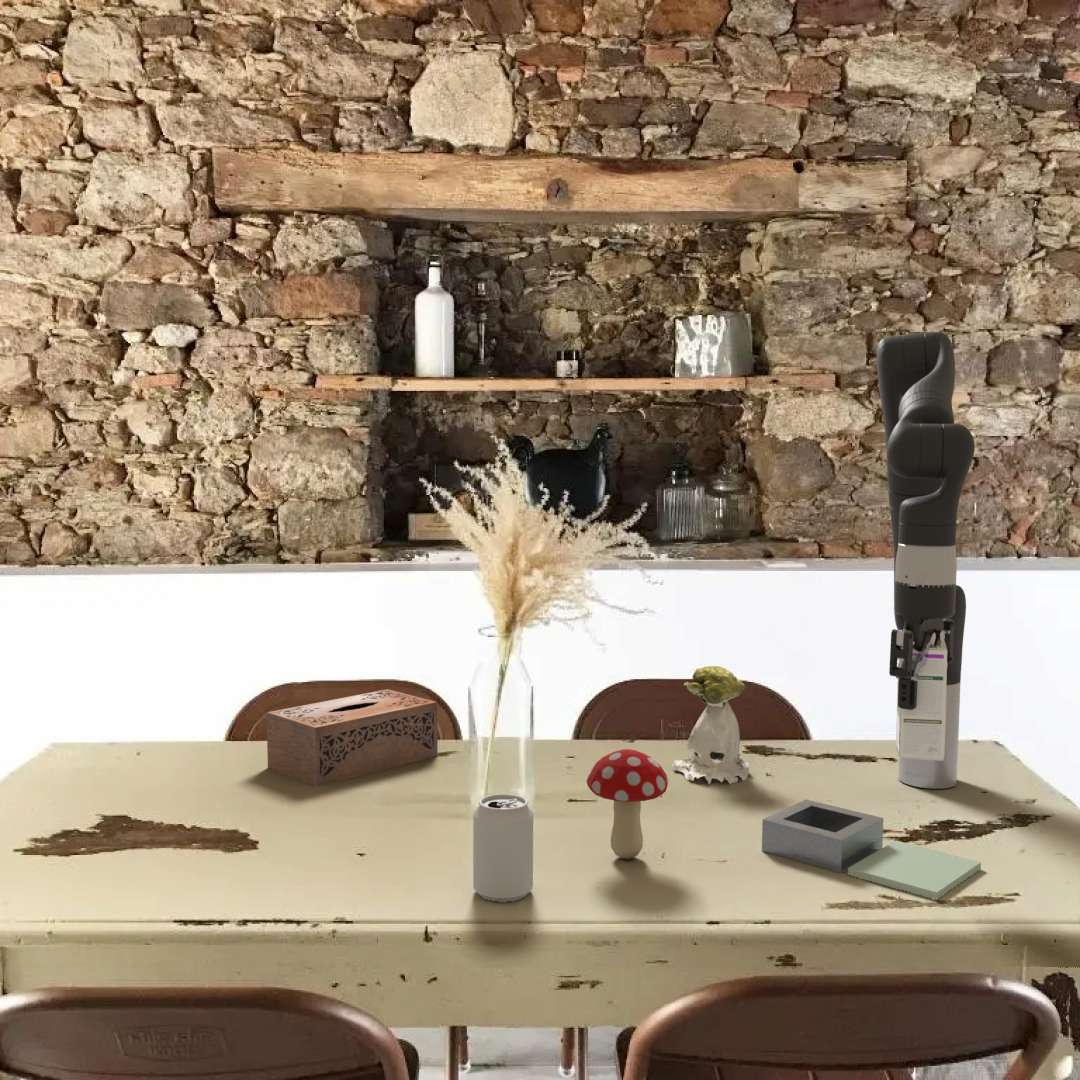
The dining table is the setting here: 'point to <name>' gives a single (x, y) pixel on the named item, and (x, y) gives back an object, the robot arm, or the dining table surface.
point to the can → (503, 847)
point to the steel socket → (822, 835)
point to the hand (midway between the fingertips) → (920, 703)
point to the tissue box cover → (351, 736)
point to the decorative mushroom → (627, 794)
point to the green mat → (915, 869)
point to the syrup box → (925, 711)
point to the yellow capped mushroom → (714, 729)
